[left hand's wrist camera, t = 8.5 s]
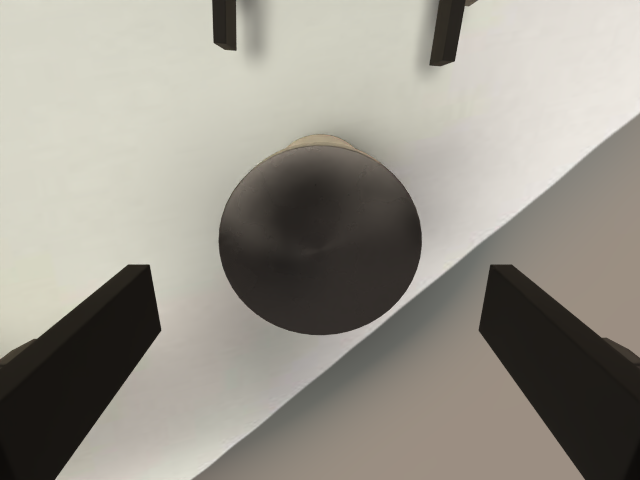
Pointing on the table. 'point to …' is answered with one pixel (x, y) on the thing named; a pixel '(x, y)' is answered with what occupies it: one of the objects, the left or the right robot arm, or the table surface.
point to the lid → (320, 239)
